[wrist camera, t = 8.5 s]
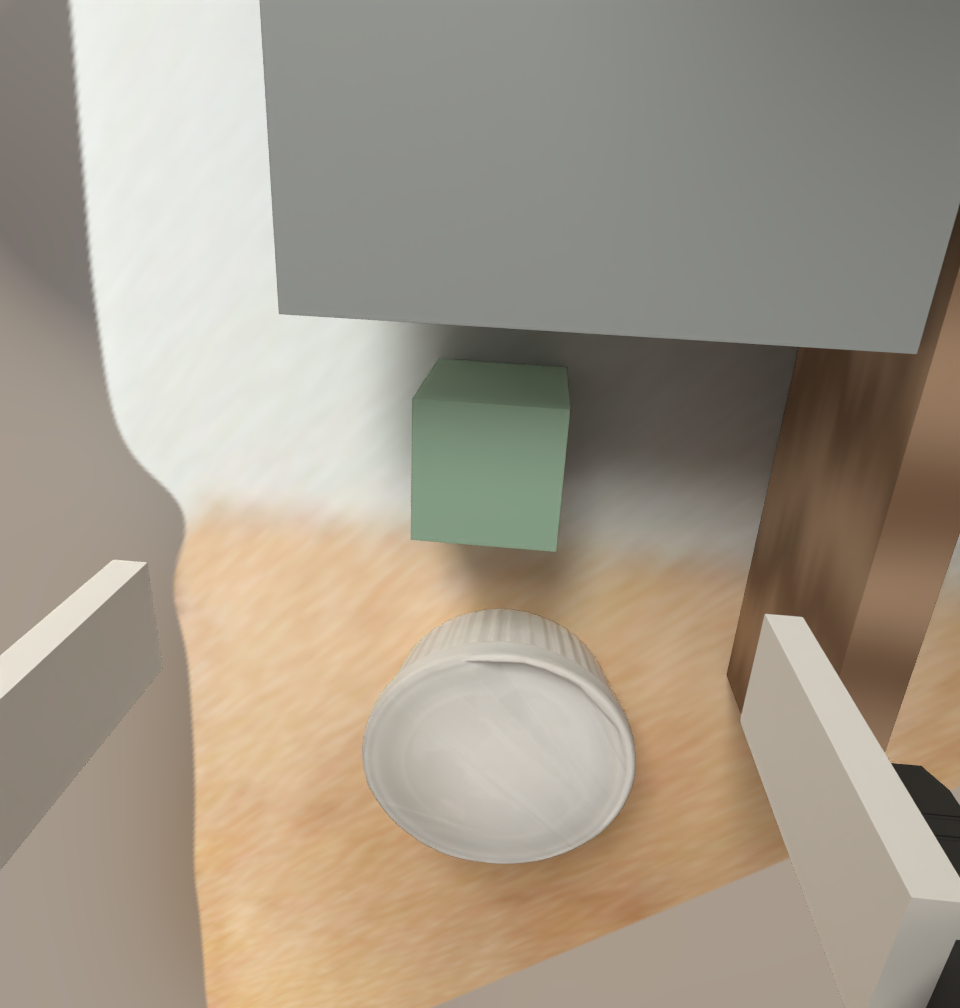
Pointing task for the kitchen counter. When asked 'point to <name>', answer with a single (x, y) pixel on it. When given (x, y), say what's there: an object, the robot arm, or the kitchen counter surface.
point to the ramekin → (500, 741)
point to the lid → (617, 165)
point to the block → (489, 454)
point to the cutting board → (863, 507)
